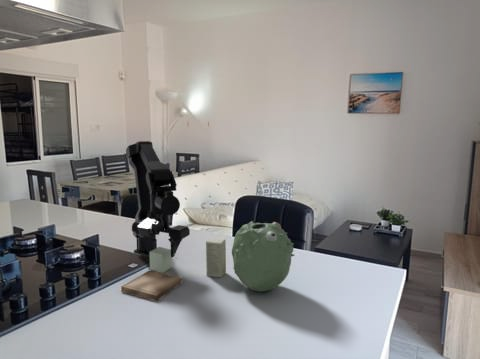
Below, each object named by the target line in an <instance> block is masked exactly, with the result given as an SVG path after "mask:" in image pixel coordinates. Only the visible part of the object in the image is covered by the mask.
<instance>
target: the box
mask: <svg viewBox="0 0 480 359" xmlns="http://www.w3.org/2000/svg"><path fill="white" fill-rule="evenodd" d="M226 241H227V240H226V239H225V238H216V237H211V238H209V239H208V240H206V241H205V255H206V276H207V277H214V278H215V277H216V278H222V277H223V276H224V275H225V274H226V272H227V261H226V260H227V257H226V256H227V255H226V253H227V252H226V251H227V247H226Z"/></svg>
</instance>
